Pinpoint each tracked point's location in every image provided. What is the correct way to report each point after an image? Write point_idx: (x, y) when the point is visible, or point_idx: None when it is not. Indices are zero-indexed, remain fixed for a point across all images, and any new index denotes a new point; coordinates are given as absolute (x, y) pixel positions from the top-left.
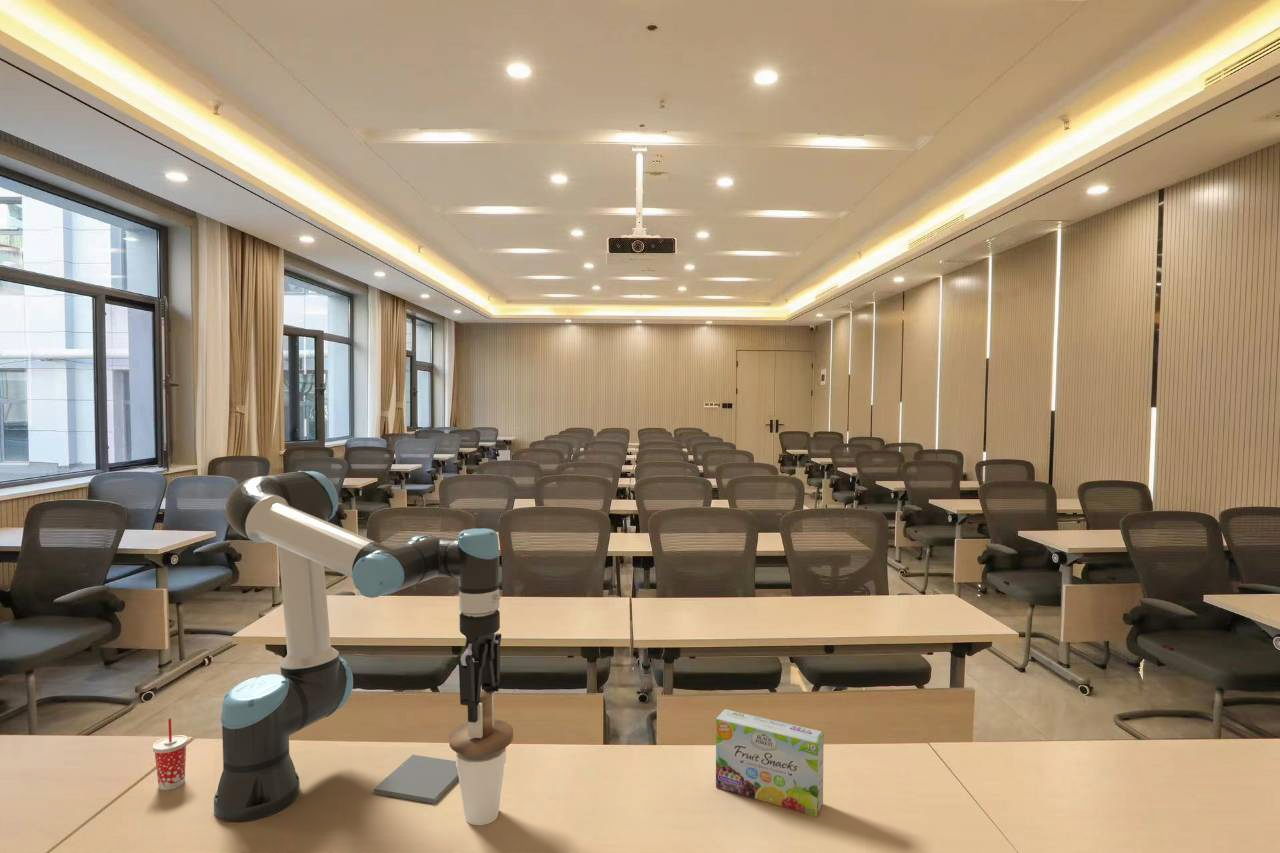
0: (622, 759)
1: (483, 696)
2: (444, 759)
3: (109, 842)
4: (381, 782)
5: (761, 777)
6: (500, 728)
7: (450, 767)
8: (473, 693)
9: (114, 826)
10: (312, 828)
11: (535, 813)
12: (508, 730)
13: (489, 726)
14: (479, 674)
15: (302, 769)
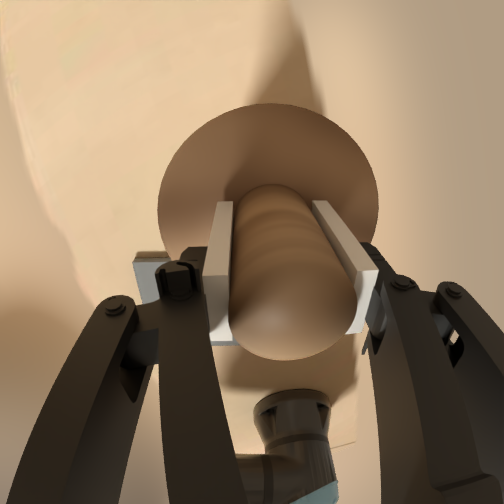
0: (31, 33)
1: (311, 298)
2: (142, 302)
3: (356, 429)
4: (233, 344)
5: None
6: (215, 173)
7: (156, 283)
8: (479, 327)
9: (338, 438)
10: (331, 351)
11: (222, 71)
12: (221, 135)
13: (286, 196)
14: (460, 429)
15: (230, 411)
